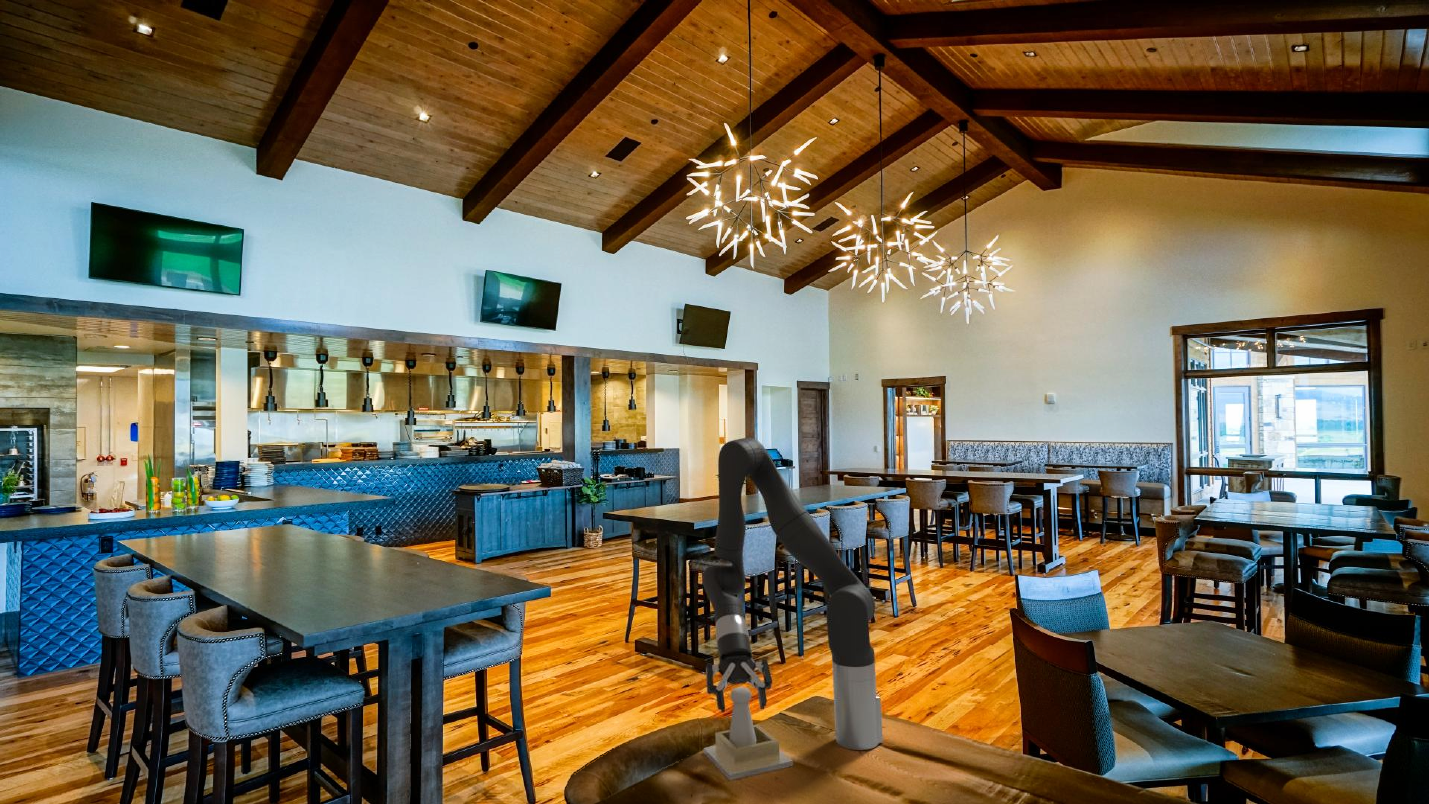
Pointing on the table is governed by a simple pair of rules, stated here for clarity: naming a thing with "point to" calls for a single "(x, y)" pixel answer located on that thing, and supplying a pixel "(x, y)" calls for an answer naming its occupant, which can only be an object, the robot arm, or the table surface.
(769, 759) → the beige square open box
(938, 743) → the table surface
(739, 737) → the salt shaker
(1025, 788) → the table surface
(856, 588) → the robot arm
